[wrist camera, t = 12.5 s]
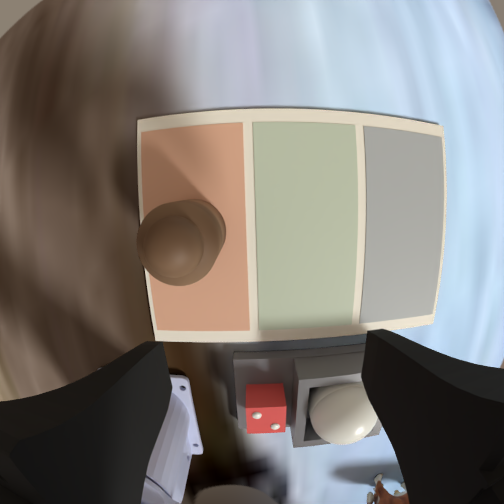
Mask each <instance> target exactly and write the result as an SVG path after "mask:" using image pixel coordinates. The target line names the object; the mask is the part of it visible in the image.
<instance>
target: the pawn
mask: <svg viewBox="0 0 504 504" xmlns="http://www.w3.org/2000/svg"><path fill="white" fill-rule="evenodd" d="M225 239H226V225H225V221H224V219H223V217H222V215H221V213H220V212H219V211H218V210H217V209H216V208H215V207H214V206H213V205H212V204H210V203H208V202H206V201H203V200H199V199H188V200H182V201H176V202H170V203H165V204H162V205H160V206H158V207H156V208H154V209H153V210H152V211H150V212H149V213H148V214H147V215H146V216H145V218H144V219H143V221H142V223H141V225H140V227H139V230H138V234H137V251H138V255H139V258H140V260H141V262H142V264H143V266H144V267H145V269H146V270H147V271H148V272H149V273H150V274H151V275H152V276H153V277H154V278H155V279H157V280H159V281H160V282H163V283H165V284H168V285H173V286H186V285H190V284H193V283H195V282H197V281H199V280H201V279H202V278H203V277H205V276H206V275H207V274H208V272H209V271H210V270H211V268H212V267H213V265H214V263H215V261H216V259H217V257H218V255H219V253H220V251H221V249H222V247H223V245H224V242H225Z"/></svg>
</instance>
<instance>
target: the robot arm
mask: <svg viewBox="0 0 504 504" xmlns="http://www.w3.org/2000/svg"><path fill="white" fill-rule="evenodd" d="M361 379H362V382H363V385H364V388H365V391H366V394H367V397H368V399H369V401H370V403H371V405H372V407H373V409H374V411H375V413H376V415H377V417H378V418H379V420H380V422H381V424H382V426H383V428H384V430H385V432H386V434H387V436H388V438H389V440H390V442H391V444H392V446H393V448H394V451H395V454H396V457H397V460H398V463H399V466H400V469H401V472H402V476H403V479H404V483H405V486H406V490H407V495H408V499H409V504H504V369H501V368H495V367H488V366H483V365H478V364H474V363H470V362H466V361H462V360H459V359H456V358H453V357H450V356H447V355H444V354H442V353H439V352H437V351H434V350H432V349H429V348H427V347H425V346H422V345H420V344H418V343H416V342H414V341H411V340H409V339H407V338H405V337H403V336H400V335H398V334H396V333H394V332H391V331H389V330H386V329H376V330H369V331H367V337H366V345H365V353H364V360H363V366H362V372H361ZM181 386H185V387H186V388H183V387H181ZM202 453H203V446H202V442H201V437H200V433H199V428H198V424H197V419H196V414H195V409H194V404H193V399H192V394H191V388H190V383H189V379H188V378H187V377H185V376H182V375H170V374H169V370H168V365H167V361H166V356H165V351H164V346H163V342H153V341H146V342H144V343H142V344H140V345H139V346H137V347H135V348H134V349H132V350H130V351H129V352H127V353H126V354H124V355H122V356H121V357H119V358H117V359H116V360H114V361H113V362H111V363H109V364H108V365H106V366H104V367H102V368H98V369H97V371H95V372H93V373H92V374H90V375H88V376H86V377H84V378H82V379H80V380H78V381H76V382H73V383H71V384H68V385H66V386H64V387H61V388H58V389H55V390H52V391H49V392H46V393H42V394H39V395H36V396H32V397H27V398H22V399H16V400H10V401H1V402H0V504H181V502H182V499H183V496H184V491H185V486H186V481H187V476H188V471H189V466H190V461H191V456H192V454H202Z"/></svg>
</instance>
